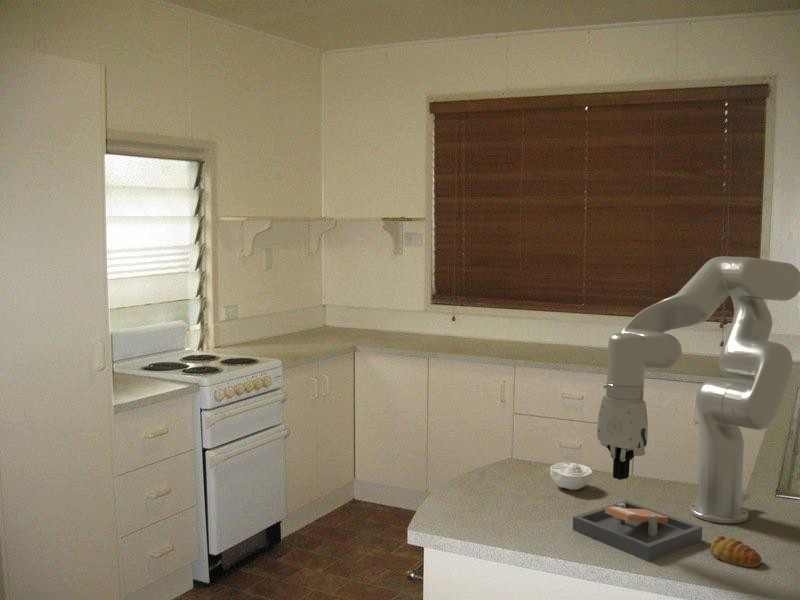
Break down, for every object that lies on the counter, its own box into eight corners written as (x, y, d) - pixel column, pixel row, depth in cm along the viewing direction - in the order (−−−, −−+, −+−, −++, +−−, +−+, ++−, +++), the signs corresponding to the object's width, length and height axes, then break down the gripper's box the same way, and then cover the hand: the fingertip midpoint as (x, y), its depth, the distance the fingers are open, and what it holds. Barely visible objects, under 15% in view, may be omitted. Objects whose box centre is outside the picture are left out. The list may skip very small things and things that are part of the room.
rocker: (643, 514, 176) (644, 507, 176) (668, 523, 171) (669, 516, 171) (603, 512, 168) (604, 505, 168) (628, 521, 162) (629, 514, 163)
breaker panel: (625, 512, 183) (626, 489, 182) (701, 540, 167) (702, 514, 166) (572, 529, 173) (573, 504, 172) (648, 561, 156) (649, 533, 156)
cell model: (580, 479, 208) (581, 454, 207) (598, 494, 196) (598, 468, 195) (543, 480, 206) (544, 455, 206) (559, 496, 194) (559, 469, 194)
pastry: (767, 563, 156) (768, 545, 156) (751, 573, 152) (751, 554, 151) (723, 548, 163) (723, 530, 163) (706, 557, 159) (706, 539, 159)
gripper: (585, 387, 168) (581, 471, 169) (642, 400, 155) (638, 490, 157) (608, 384, 172) (604, 466, 173) (666, 396, 160) (661, 484, 161)
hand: (620, 477), depth 165 cm, fingers closed
